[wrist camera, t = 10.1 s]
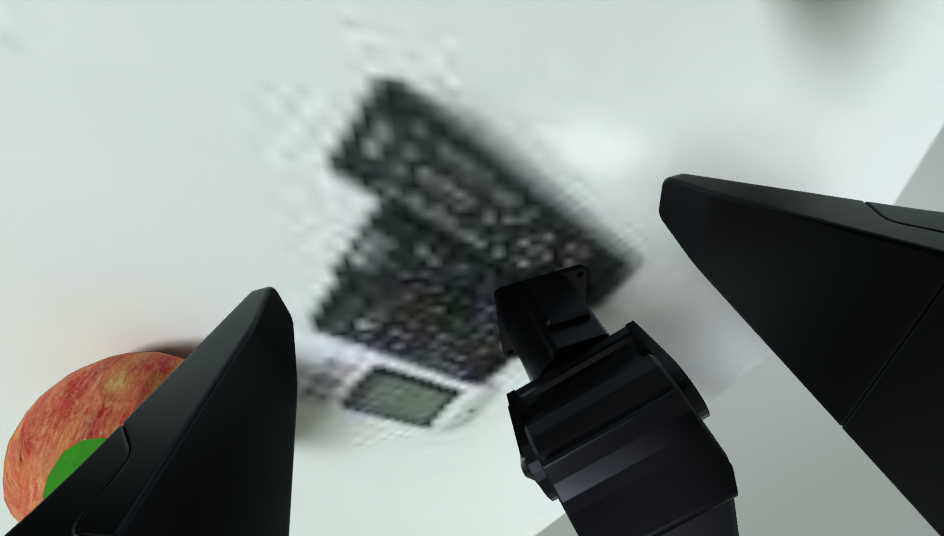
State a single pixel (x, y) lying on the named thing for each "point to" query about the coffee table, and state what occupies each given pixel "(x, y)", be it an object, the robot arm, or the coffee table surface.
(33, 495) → the fruit
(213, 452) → the robot arm
